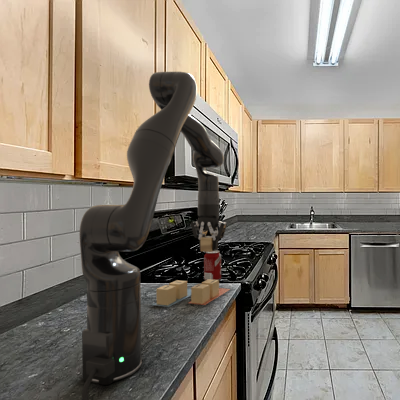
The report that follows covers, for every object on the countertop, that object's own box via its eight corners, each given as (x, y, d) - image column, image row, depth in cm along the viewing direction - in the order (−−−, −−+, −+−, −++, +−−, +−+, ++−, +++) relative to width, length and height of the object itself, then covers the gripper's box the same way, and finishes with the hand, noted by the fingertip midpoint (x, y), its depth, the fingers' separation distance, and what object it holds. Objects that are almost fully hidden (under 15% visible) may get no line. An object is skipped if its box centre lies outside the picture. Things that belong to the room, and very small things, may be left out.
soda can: (211, 283, 122) (210, 253, 122) (200, 280, 126) (200, 251, 126) (224, 279, 127) (224, 251, 127) (214, 277, 131) (214, 249, 131)
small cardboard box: (210, 251, 109) (210, 237, 109) (200, 251, 110) (200, 237, 110) (216, 249, 113) (216, 236, 113) (206, 249, 115) (206, 235, 114)
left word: (168, 307, 96) (168, 290, 96) (151, 305, 98) (151, 289, 98) (201, 290, 113) (201, 276, 113) (186, 289, 115) (186, 274, 115)
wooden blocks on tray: (204, 305, 98) (204, 289, 98) (187, 303, 99) (187, 287, 99) (230, 289, 114) (230, 275, 114) (215, 288, 116) (215, 274, 116)
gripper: (185, 203, 110) (185, 251, 110) (221, 203, 106) (221, 252, 106) (197, 202, 117) (197, 247, 117) (231, 203, 113) (231, 249, 114)
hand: (208, 249), depth 112 cm, fingers closed on small cardboard box, 4 cm apart
